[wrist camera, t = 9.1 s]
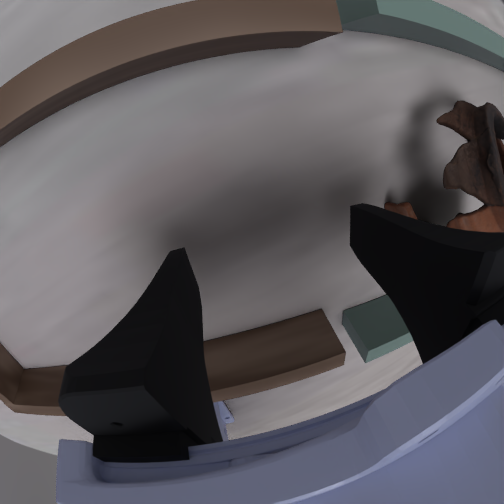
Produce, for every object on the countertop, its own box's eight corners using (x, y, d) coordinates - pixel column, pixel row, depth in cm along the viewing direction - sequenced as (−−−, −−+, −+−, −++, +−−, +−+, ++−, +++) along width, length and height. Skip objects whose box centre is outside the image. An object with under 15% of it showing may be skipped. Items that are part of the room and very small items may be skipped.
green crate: (488, 257, 22) (511, 278, 18) (342, 324, 20) (365, 363, 17) (509, 59, 10) (543, 68, 7) (324, 3, 8) (370, -19, 5)
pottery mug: (344, 181, 14) (476, 145, 7) (396, 102, 16) (482, 64, 8) (432, 301, 18) (523, 316, 10) (464, 213, 19) (538, 208, 12)
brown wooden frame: (321, 322, 19) (343, 364, 16) (23, 379, 17) (14, 412, 14) (293, 19, 9) (334, -5, 6) (-87, 207, 7) (-116, 233, 3)
